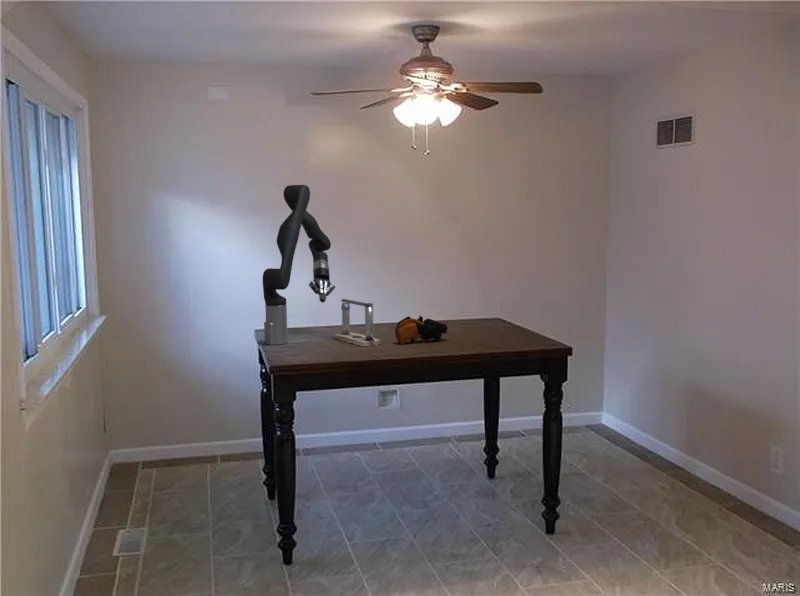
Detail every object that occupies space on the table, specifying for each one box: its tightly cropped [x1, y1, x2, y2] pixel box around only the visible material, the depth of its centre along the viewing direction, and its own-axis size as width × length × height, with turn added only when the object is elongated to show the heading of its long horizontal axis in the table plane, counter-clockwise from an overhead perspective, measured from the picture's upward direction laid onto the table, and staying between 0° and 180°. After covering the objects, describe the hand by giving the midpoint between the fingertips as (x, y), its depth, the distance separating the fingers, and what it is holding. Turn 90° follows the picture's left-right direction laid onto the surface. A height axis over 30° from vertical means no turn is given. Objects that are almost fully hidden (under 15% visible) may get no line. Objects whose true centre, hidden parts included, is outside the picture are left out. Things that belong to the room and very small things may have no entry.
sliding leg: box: [341, 302, 351, 334], centre depth 349 cm, size 4×4×14 cm
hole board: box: [333, 331, 384, 348], centre depth 342 cm, size 10×25×2 cm, turn 36°
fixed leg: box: [341, 298, 374, 341], centre depth 341 cm, size 3×23×16 cm, turn 36°
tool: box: [394, 314, 449, 345], centre depth 340 cm, size 8×23×15 cm, turn 110°
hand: (323, 301), depth 353 cm, fingers closed
